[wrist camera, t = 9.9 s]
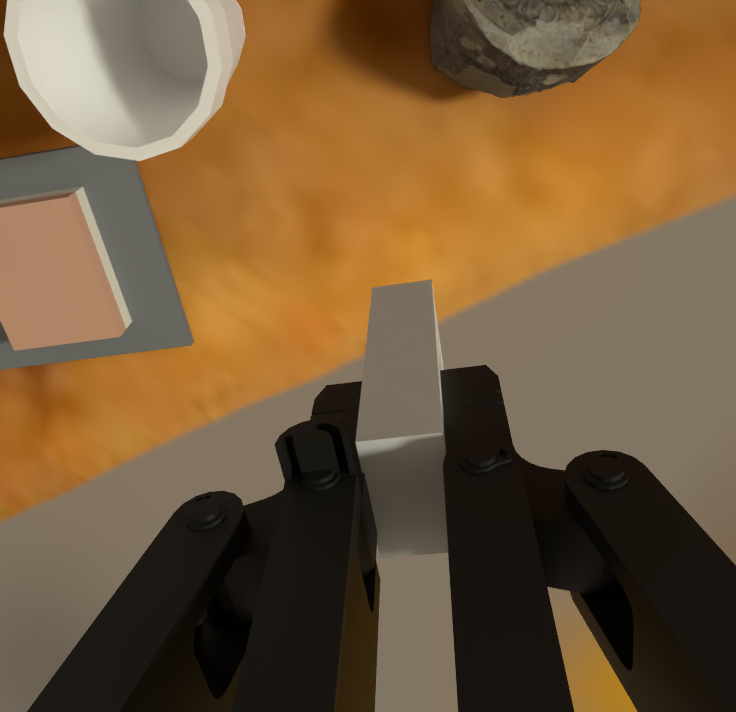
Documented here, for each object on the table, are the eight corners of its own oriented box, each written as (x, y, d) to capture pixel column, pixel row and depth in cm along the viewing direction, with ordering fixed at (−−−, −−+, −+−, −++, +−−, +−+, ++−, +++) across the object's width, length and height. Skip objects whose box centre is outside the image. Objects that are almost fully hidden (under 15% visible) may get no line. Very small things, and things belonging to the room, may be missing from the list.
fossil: (637, -132, 37) (686, -27, 31) (598, 31, 44) (632, 138, 39) (428, -118, 37) (440, -12, 32) (425, 41, 45) (435, 148, 39)
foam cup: (89, 49, 43) (-26, 80, 32) (153, -102, 39) (48, -129, 28) (226, 139, 45) (166, 198, 34) (300, 4, 41) (259, 19, 30)
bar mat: (-125, 179, 48) (-131, 181, 47) (127, 136, 45) (124, 139, 45) (-29, 370, 55) (-33, 373, 54) (193, 341, 52) (191, 345, 52)
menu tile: (82, 186, 46) (-29, 204, 47) (67, 197, 44) (-49, 215, 45) (132, 321, 51) (30, 335, 52) (120, 336, 49) (14, 350, 50)
